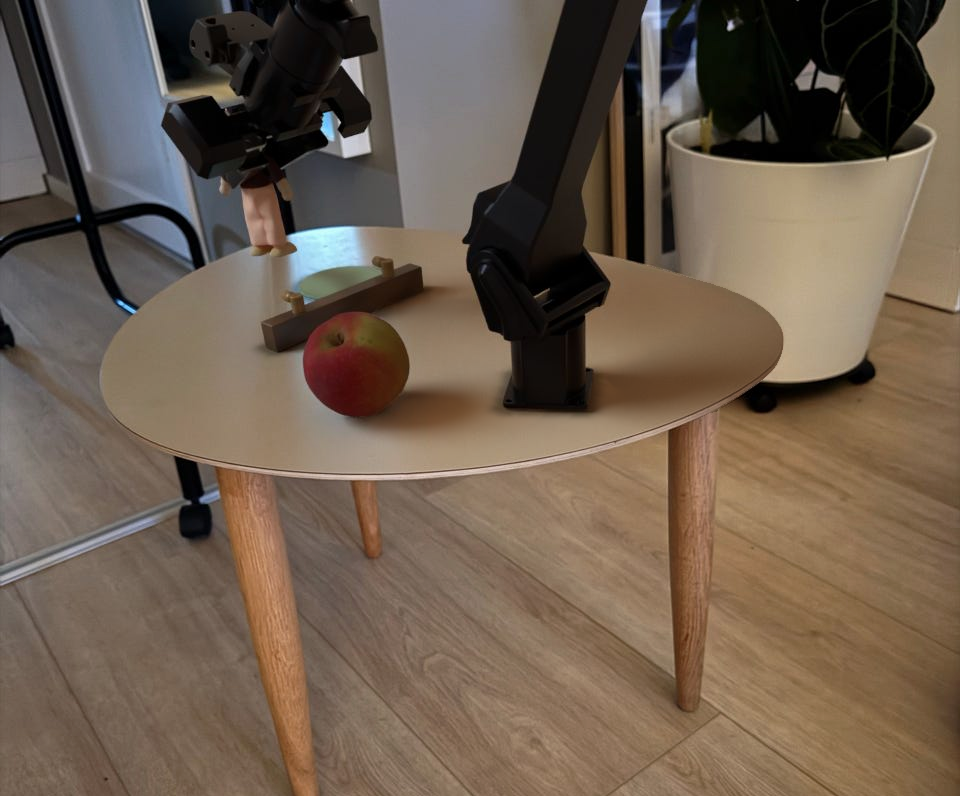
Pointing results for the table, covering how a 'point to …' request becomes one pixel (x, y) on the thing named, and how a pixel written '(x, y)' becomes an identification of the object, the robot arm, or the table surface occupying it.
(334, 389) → the apple
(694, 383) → the table surface
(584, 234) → the robot arm
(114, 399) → the table surface
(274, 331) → the hook rail
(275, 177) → the grandmother figurine
